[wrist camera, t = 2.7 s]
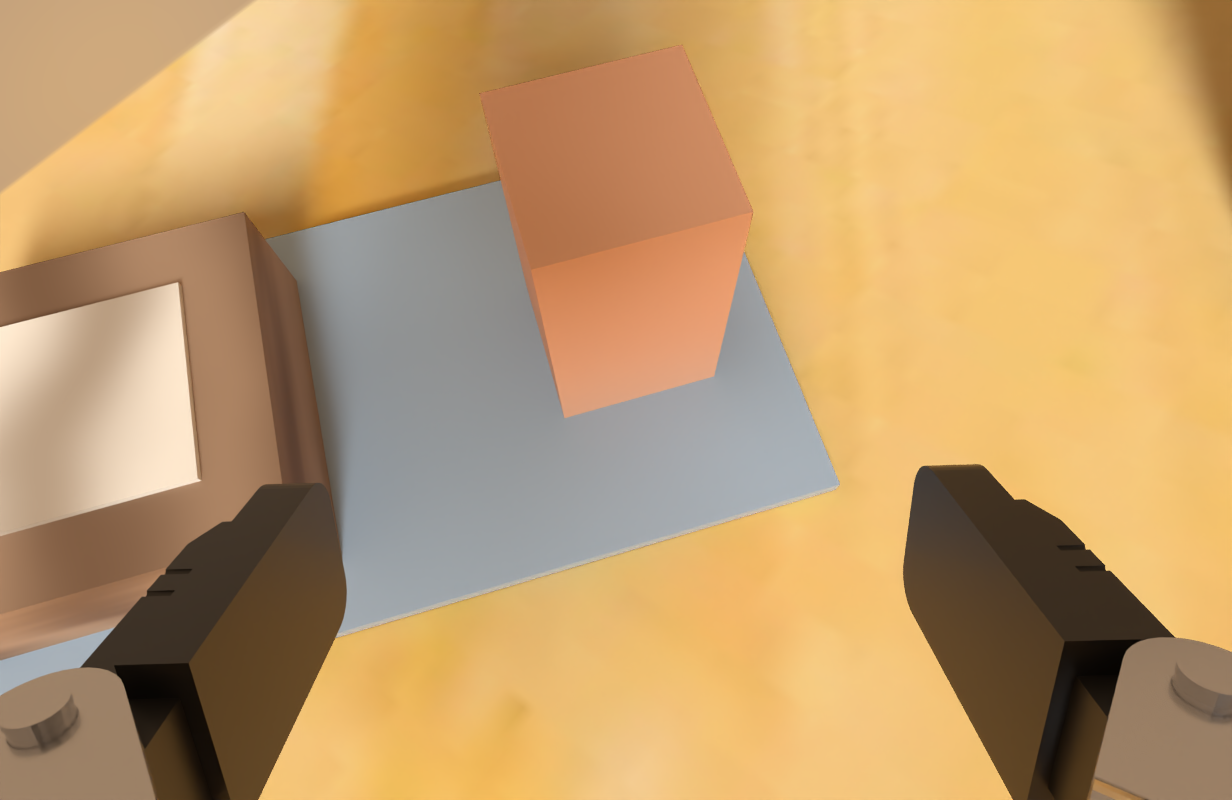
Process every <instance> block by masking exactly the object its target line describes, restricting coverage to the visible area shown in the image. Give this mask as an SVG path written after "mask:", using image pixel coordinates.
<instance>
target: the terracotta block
mask: <svg viewBox="0 0 1232 800" xmlns="http://www.w3.org/2000/svg"><path fill="white" fill-rule="evenodd" d="M479 94H480V98H481V102H482V106H483V110H484V114H485V118H486V122H487V126H488V130H489V135H490V139H491V143H492V147H493V151H494V155H495V159H496V163H497V167H498V171H499V176H500V180H501V184H502V188H503V192H504V196H505V200H506V204H507V208H508V212H509V217H510V221H511V225H512V229H513V233H514V237H515V241H516V245H517V249H518V253H519V258H520V262H521V266H522V270H523V274H524V278H525V282H526V286H527V290H528V293H529V297H530V300H531V304H532V307H533V311H534V314H535V318H536V321H537V325H538V328H539V332H540V335H541V338H542V342H543V345H544V349H545V352H546V356H547V359H548V363H549V366H550V370H551V373H552V377H553V380H554V384H555V387H556V391H557V394H558V398H559V401H560V405H561V408H562V412H563V415H564V418H567V417H571V416H574V415H578V414H582V413H585V412H589V411H592V410H596V409H599V408H603V407H607V406H610V405H614V404H617V403H621V402H624V401H628V400H632V399H635V398H639V397H642V396H646V395H649V394H653V393H657V392H660V391H664V390H667V389H671V388H675V387H678V386H682V385H685V384H689V383H692V382H696V381H700V380H703V379H707V378H710V377H714V375H715V371H716V366H717V362H718V358H719V354H720V350H721V345H722V341H723V337H724V333H725V329H726V324H727V320H728V316H729V312H730V308H731V303H732V299H733V295H734V291H735V287H736V282H737V278H738V274H739V270H740V266H741V261H742V257H743V253H744V249H745V245H746V240H747V236H748V232H749V228H750V224H751V219H752V215H753V210H752V207H751V205H750V203H749V200H748V198H747V196H746V193H745V191H744V189H743V186H742V184H741V182H740V179H739V177H738V175H737V172H736V170H735V168H734V165H733V163H732V161H731V158H730V156H729V154H728V151H727V149H726V146H725V144H724V142H723V139H722V137H721V135H720V132H719V130H718V128H717V125H716V123H715V121H714V118H713V116H712V114H711V111H710V109H709V107H708V104H707V102H706V100H705V97H704V95H703V93H702V90H701V88H700V86H699V83H698V81H697V79H696V76H695V74H694V72H693V69H692V67H691V64H690V62H689V60H688V57H687V55H686V53H685V50H684V48H683V46H682V45H678V46H674V47H670V48H666V49H662V50H657V51H653V52H649V53H645V54H641V55H637V56H632V57H628V58H624V59H620V60H616V61H612V62H608V63H603V64H599V65H595V66H591V67H587V68H583V69H578V70H574V71H570V72H566V73H562V74H558V75H553V76H549V77H545V78H541V79H537V80H533V81H528V82H524V83H520V84H516V85H512V86H508V87H503V88H499V89H495V90H491V91H487V92H483V93H479Z"/></svg>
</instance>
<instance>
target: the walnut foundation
mask: <svg viewBox="0 0 1232 800" xmlns="http://www.w3.org/2000/svg"><path fill="white" fill-rule="evenodd" d="M290 483H322V484H323V485H324V486H325V487H326V489H327V491H328V494H329V497H330V501H331V506H332V511H333V516H334V521H335V526H336V531H337V536H338V530H337V524H336V518H335V512H334V506H333V500H332V494H331V488H330V481H329V475H328V469H327V463H326V457H325V451H324V445H323V439H322V433H321V426H320V420H319V414H318V408H317V402H316V396H315V390H314V384H313V378H312V371H311V365H310V359H309V353H308V347H307V341H306V335H305V329H304V323H303V317H302V310H301V304H300V298H299V292H298V286H297V281H296V279H295V278H294V277H293V275H292V274H291V273H290V272H289V270H288V269H287V268H286V266H285V265H284V264H283V262H282V261H281V260H280V258H279V257H278V256H277V254H276V253H275V252H274V251H273V249H272V248H271V247H270V245H269V244H268V243H267V241H266V240H265V239H264V237H263V236H262V235H261V234H260V232H259V231H258V230H257V228H256V227H255V226H254V224H253V223H252V222H251V220H250V219H249V218H248V217H247V215H246V214H245V213H244V212H242V213H238V214H234V215H230V216H226V217H222V218H218V219H214V220H210V221H206V222H202V223H198V224H194V225H190V226H186V227H181V228H177V229H173V230H169V231H165V232H161V233H157V234H153V235H149V236H145V237H141V238H137V239H133V240H129V241H125V242H121V243H117V244H113V245H109V246H105V247H101V248H96V249H92V250H88V251H84V252H80V253H76V254H72V255H68V256H64V257H60V258H56V259H52V260H48V261H44V262H40V263H36V264H32V265H28V266H24V267H20V268H16V269H11V270H7V271H3V272H0V660H4V659H7V658H11V657H14V656H18V655H21V654H25V653H28V652H32V651H35V650H38V649H42V648H45V647H49V646H52V645H56V644H59V643H63V642H66V641H70V640H73V639H77V638H80V637H84V636H87V635H90V634H94V633H97V632H101V631H104V630H108V629H111V628H115V627H116V626H117V624H118V623H119V622H120V621H121V620H122V619H123V618H124V616H125V615H126V614H127V613H128V612H129V611H130V610H131V608H132V607H133V606H134V605H135V604H136V603H137V601H138V600H139V599H140V598H141V597H146V595H147V590H148V589H149V588H150V587H151V585H152V584H153V583H154V582H155V581H156V580H157V579H158V577H159V576H160V575H165V572H166V570H165V569H166V568H167V567H168V566H169V565H170V564H171V562H172V561H173V560H174V559H175V558H176V557H177V556H178V554H179V553H180V552H181V551H182V550H183V549H184V548H185V546H186V545H187V544H188V543H190V542H191V541H193V540H195V539H196V538H198V537H199V536H201V535H202V534H204V533H205V532H207V531H209V530H210V529H212V528H213V527H215V526H216V525H218V524H219V523H221V522H226V521H232V520H233V519H234V518H235V517H236V515H237V514H238V513H239V512H240V510H241V509H242V508H243V507H244V506H245V504H246V503H247V502H248V501H249V500H250V498H251V497H252V496H253V495H254V493H255V492H256V491H257V490H258V489H259V488H260V487H261V486H262V485H265V484H290ZM338 541H339V536H338ZM339 546H340V542H339ZM340 551H341V549H340ZM341 556H342V555H341Z"/></svg>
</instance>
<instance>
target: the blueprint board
mask: <svg viewBox="0 0 1232 800" xmlns="http://www.w3.org/2000/svg"><path fill="white" fill-rule="evenodd" d="M265 240H266V241H267V243H268V244H269V245H270V247H271V248H272V249H273V251H274V252H275V253H276V254H277V256H278V257H279V258H280V260H281V261H282V262H283V264H284V265H285V266H286V268H287V269H288V270H289V272H290V273H291V274H292V275H293V277H294V278H295V279H296V281H297V286H298V292H299V298H300V304H301V310H302V317H303V323H304V329H305V335H306V341H307V347H308V353H309V359H310V365H311V371H312V378H313V384H314V390H315V396H316V402H317V408H318V414H319V420H320V426H321V433H322V439H323V445H324V451H325V457H326V463H327V469H328V475H329V481H330V488H331V494H332V500H333V506H334V512H335V518H336V524H337V530H338V536H339V542H340V549H341V555H342V561H343V566H344V571H345V577H346V585H347V600H346V608H345V614H344V618H343V621H342V624H341V627H340V629H339V631H338V633H337V635H336V637H335V638H337V637H340V636H344V635H347V634H351V633H354V632H357V631H361V630H364V629H367V628H371V627H374V626H378V625H381V624H384V623H388V622H391V621H394V620H398V619H401V618H404V617H408V616H411V615H415V614H418V613H421V612H425V611H428V610H431V609H435V608H438V607H442V606H445V605H448V604H452V603H455V602H458V601H462V600H465V599H469V598H472V597H475V596H479V595H482V594H485V593H489V592H492V591H495V590H499V589H502V588H506V587H509V586H512V585H516V584H519V583H522V582H526V581H529V580H533V579H536V578H539V577H543V576H546V575H549V574H553V573H556V572H560V571H563V570H566V569H570V568H573V567H576V566H580V565H583V564H586V563H590V562H593V561H597V560H600V559H603V558H607V557H610V556H613V555H617V554H620V553H624V552H627V551H630V550H634V549H637V548H640V547H644V546H647V545H651V544H654V543H657V542H661V541H664V540H667V539H671V538H674V537H677V536H681V535H684V534H688V533H691V532H694V531H698V530H701V529H704V528H708V527H711V526H715V525H718V524H721V523H725V522H728V521H731V520H735V519H738V518H742V517H745V516H748V515H752V514H755V513H758V512H762V511H765V510H768V509H772V508H775V507H779V506H782V505H785V504H789V503H792V502H795V501H799V500H802V499H806V498H809V497H812V496H816V495H819V494H822V493H826V492H829V491H833V490H836V488H837V487H838V486H839V485H840V483H839V481H838V478H837V476H836V473H835V471H834V469H833V466H832V464H831V461H830V459H829V456H828V454H827V452H826V449H825V447H824V444H823V442H822V439H821V437H820V435H819V432H818V430H817V427H816V425H815V423H814V420H813V418H812V415H811V413H810V410H809V408H808V406H807V403H806V401H805V398H804V396H803V393H802V391H801V389H800V386H799V384H798V381H797V379H796V376H795V374H794V372H793V369H792V367H791V364H790V362H789V359H788V357H787V355H786V352H785V350H784V347H783V345H782V342H781V340H780V338H779V335H778V333H777V330H776V328H775V325H774V323H773V321H772V318H771V316H770V313H769V311H768V309H767V306H766V304H765V301H764V299H763V296H762V294H761V292H760V289H759V287H758V284H757V282H756V279H755V277H754V275H753V272H752V270H751V267H750V265H749V262H748V260H747V258H746V255H745V253H743V257H742V261H741V266H740V270H739V274H738V278H737V282H736V287H735V291H734V295H733V299H732V303H731V308H730V312H729V316H728V320H727V324H726V329H725V333H724V337H723V341H722V345H721V350H720V354H719V358H718V362H717V366H716V371H715V375H714V377H710V378H707V379H703V380H700V381H696V382H692V383H689V384H685V385H682V386H678V387H675V388H671V389H667V390H664V391H660V392H657V393H653V394H649V395H646V396H642V397H639V398H635V399H632V400H628V401H624V402H621V403H617V404H614V405H610V406H607V407H603V408H599V409H596V410H592V411H589V412H585V413H582V414H578V415H574V416H571V417H567V418H564V415H563V412H562V408H561V405H560V401H559V398H558V394H557V391H556V387H555V384H554V380H553V377H552V373H551V370H550V366H549V363H548V359H547V356H546V352H545V349H544V345H543V342H542V338H541V335H540V332H539V328H538V325H537V321H536V318H535V314H534V311H533V307H532V304H531V300H530V297H529V293H528V290H527V286H526V282H525V278H524V274H523V270H522V266H521V262H520V258H519V253H518V249H517V245H516V241H515V237H514V233H513V229H512V225H511V221H510V217H509V212H508V208H507V204H506V200H505V196H504V192H503V188H502V184H501V180H500V181H496V182H492V183H488V184H484V185H480V186H476V187H472V188H468V189H464V190H460V191H456V192H452V193H448V194H444V195H440V196H436V197H432V198H428V199H424V200H420V201H416V202H412V203H408V204H404V205H400V206H396V207H392V208H388V209H384V210H380V211H376V212H372V213H368V214H364V215H360V216H356V217H352V218H348V219H344V220H340V221H336V222H332V223H328V224H324V225H320V226H316V227H312V228H308V229H304V230H300V231H296V232H292V233H288V234H284V235H280V236H276V237H272V238H268V239H265ZM113 629H114V628H111V629H108V630H104V631H101V632H97V633H94V634H90V635H87V636H84V637H80V638H77V639H73V640H70V641H66V642H63V643H59V644H56V645H52V646H49V647H45V648H42V649H38V650H35V651H32V652H28V653H25V654H21V655H18V656H14V657H11V658H7V659H4V660H0V695H2V694H4V693H5V692H7V691H9V690H11V689H13V688H15V687H17V686H19V685H21V684H23V683H26V682H28V681H30V680H33V679H35V678H38V677H41V676H44V675H47V674H50V673H54V672H58V671H62V670H67V669H74V668H80V667H81V666H82V665H83V663H84V662H85V661H86V660H87V659H88V658H89V657H90V655H91V654H92V653H93V652H94V651H95V650H96V649H97V647H98V646H99V645H100V644H101V643H102V642H103V640H104V639H105V638H106V637H107V636H108V635H109V634H110V632H111V631H112V630H113Z"/></svg>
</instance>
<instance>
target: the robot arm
mask: <svg viewBox="0 0 1232 800" xmlns="http://www.w3.org/2000/svg"><path fill="white" fill-rule="evenodd" d="M165 570H166V572H165V575H160V576H159V577H158V579H157V580H156V581H155V582H154V583H153V584H152V585H151V587H150V588H149V589H148V590H147V595H146V597H141V598H140V599H139V600H138V601H137V603H136V604H135V605H134V606H133V607H132V608H131V610H130V611H129V612H128V613H127V614H126V615H125V616H124V618H123V619H122V620H121V621H120V622H119V623H118V624H117V626H116V627H115V628H114V629H113V630H112V631H111V632H110V634H109V635H108V636H107V637H106V638H105V639H104V640H103V642H102V643H101V644H100V645H99V646H98V647H97V649H96V650H95V651H94V652H93V653H92V654H91V655H90V657H89V658H88V659H87V660H86V661H85V662H84V663H83V665H82V666H81V667H80V668H74V669H67V670H62V671H58V672H54V673H50V674H47V675H44V676H41V677H38V678H35V679H33V680H30V681H28V682H26V683H23V684H21V685H19V686H17V687H15V688H13V689H11V690H9V691H7V692H5V693H4V694H2V695H0V800H258V799H259V797H260V795H261V793H262V790H263V788H264V786H265V784H266V782H267V780H268V778H269V776H270V774H271V772H272V769H273V767H274V765H275V763H276V761H277V759H278V757H279V755H280V753H281V751H282V748H283V746H284V744H285V742H286V740H287V738H288V736H289V734H290V732H291V730H292V728H293V725H294V723H295V721H296V719H297V717H298V715H299V713H300V711H301V709H302V707H303V704H304V702H305V700H306V698H307V696H308V694H309V692H310V690H311V688H312V686H313V683H314V681H315V679H316V677H317V675H318V673H319V671H320V669H321V667H322V665H323V662H324V660H325V658H326V656H327V654H328V652H329V650H330V648H331V646H332V644H333V641H334V639H335V637H336V635H337V633H338V631H339V629H340V627H341V624H342V621H343V618H344V614H345V608H346V600H347V585H346V577H345V571H344V566H343V561H342V556H341V551H340V546H339V541H338V536H337V531H336V526H335V521H334V516H333V511H332V506H331V501H330V497H329V494H328V491H327V489H326V487H325V486H324V485H323V484H322V483H290V484H265V485H262V486H261V487H260V488H259V489H258V490H257V491H256V492H255V493H254V495H253V496H252V497H251V498H250V500H249V501H248V502H247V503H246V504H245V506H244V507H243V508H242V509H241V510H240V512H239V513H238V514H237V515H236V517H235V518H234V519H233V520H232V521H226V522H221V523H219V524H218V525H216V526H215V527H213V528H212V529H210V530H209V531H207V532H205V533H204V534H202V535H201V536H199V537H198V538H196V539H195V540H193V541H191V542H190V543H188V544H187V545H186V546H185V548H184V549H183V550H182V551H181V552H180V553H179V554H178V556H177V557H176V558H175V559H174V560H173V561H172V562H171V564H170V565H169V566H168V567H167V568H166V569H165ZM903 578H904V587H905V593H906V598H907V601H908V604H909V607H910V609H911V612H912V614H913V615H914V617H915V619H916V621H917V623H918V625H919V627H920V628H921V630H922V632H923V634H924V636H925V638H926V640H927V641H928V643H929V645H930V647H931V649H932V651H933V652H934V654H935V656H936V658H937V660H938V662H939V664H940V665H941V667H942V669H943V671H944V673H945V675H946V677H947V678H948V680H949V682H950V684H951V686H952V688H953V689H954V691H955V693H956V695H957V697H958V699H959V701H960V702H961V704H962V706H963V708H964V710H965V712H966V714H967V715H968V717H969V719H970V721H971V723H972V725H973V726H974V728H975V730H976V732H977V734H978V736H979V738H980V739H981V741H982V743H983V745H984V747H985V749H986V751H987V752H988V754H989V756H990V758H991V760H992V762H993V763H994V765H995V767H996V769H997V771H998V773H999V775H1000V776H1001V778H1002V780H1003V782H1004V784H1005V786H1006V788H1007V789H1008V791H1009V793H1010V795H1011V797H1012V799H1013V800H1232V652H1230V651H1228V650H1225V649H1222V648H1219V647H1216V646H1214V645H1210V644H1206V643H1203V642H1199V641H1194V640H1189V639H1182V638H1175V637H1174V636H1173V635H1172V634H1171V633H1170V632H1169V631H1168V630H1167V629H1166V628H1165V627H1164V626H1163V625H1162V624H1161V623H1160V622H1159V620H1158V619H1157V618H1156V617H1155V616H1154V615H1153V614H1152V613H1151V612H1150V611H1149V610H1148V609H1147V608H1146V607H1145V606H1144V605H1143V604H1142V603H1141V602H1140V601H1139V600H1138V599H1137V598H1136V597H1135V596H1134V595H1133V594H1132V593H1131V592H1130V591H1129V590H1128V589H1127V588H1126V587H1125V585H1124V584H1123V583H1122V582H1121V581H1120V580H1119V579H1118V578H1117V577H1116V576H1115V575H1114V574H1113V573H1112V572H1111V571H1106V570H1105V565H1104V564H1103V563H1102V562H1101V561H1100V560H1099V559H1098V558H1097V557H1096V556H1095V555H1094V554H1093V553H1092V551H1091V550H1086V549H1085V544H1084V543H1083V542H1082V541H1081V540H1080V539H1079V538H1078V537H1077V536H1076V535H1075V534H1074V533H1073V532H1072V531H1071V530H1070V529H1069V528H1068V527H1067V526H1066V525H1065V524H1064V523H1063V522H1062V521H1061V520H1060V519H1058V518H1056V517H1055V516H1053V515H1051V514H1049V513H1048V512H1046V511H1044V510H1042V509H1041V508H1039V507H1037V506H1035V505H1034V504H1032V503H1030V502H1028V501H1026V500H1014V499H1013V498H1012V496H1011V495H1010V494H1009V493H1008V492H1007V491H1006V490H1005V489H1004V488H1003V487H1002V486H1001V484H1000V483H999V482H998V481H997V480H996V479H995V478H994V477H993V476H992V475H991V473H990V472H989V471H988V470H987V469H986V468H985V467H984V466H982V465H978V464H973V465H940V466H923V467H921V468H920V469H919V471H918V472H917V475H916V478H915V482H914V488H913V496H912V503H911V511H910V519H909V526H908V534H907V541H906V549H905V557H904V566H903Z"/></svg>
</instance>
